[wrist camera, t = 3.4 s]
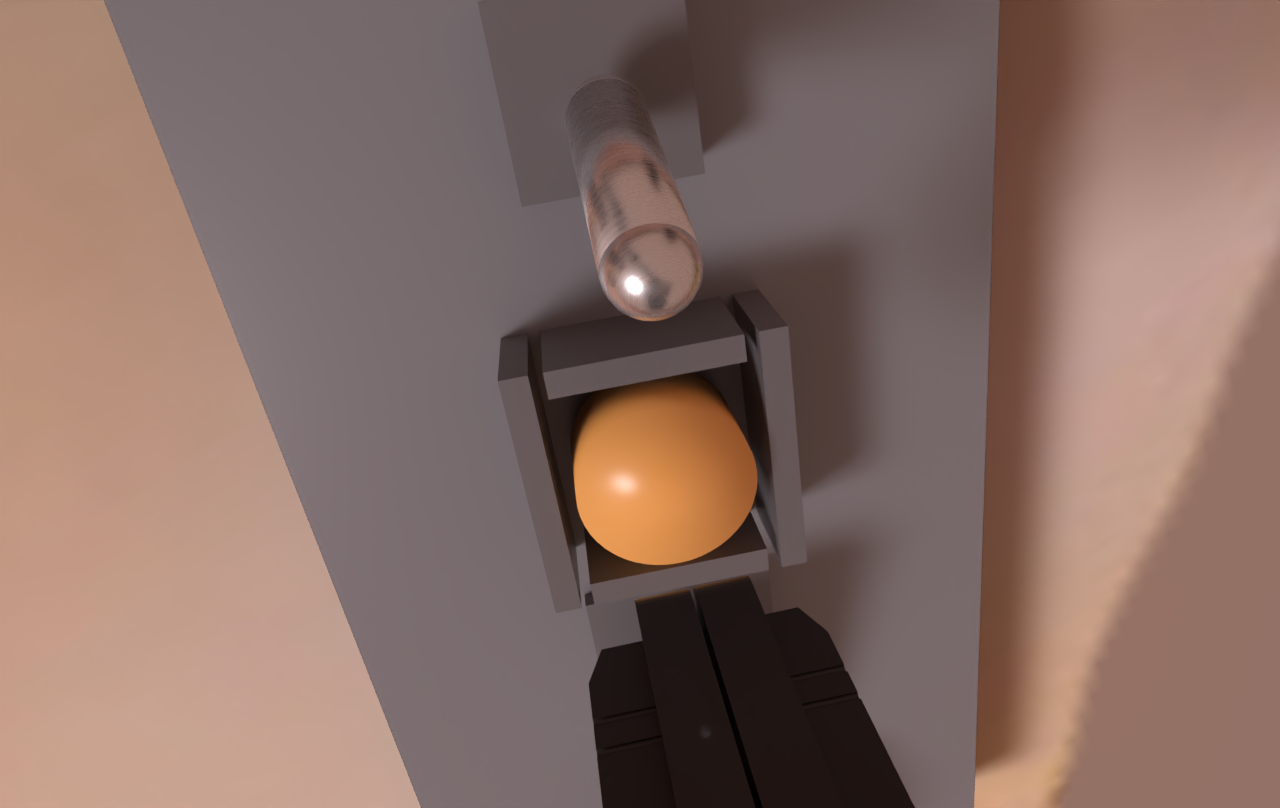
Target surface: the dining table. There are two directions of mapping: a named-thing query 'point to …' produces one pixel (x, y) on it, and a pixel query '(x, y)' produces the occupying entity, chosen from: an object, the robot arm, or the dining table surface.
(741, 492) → the orange button
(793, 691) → the robot arm
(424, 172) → the control panel
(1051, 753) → the dining table surface
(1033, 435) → the dining table surface
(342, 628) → the dining table surface
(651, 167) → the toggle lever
